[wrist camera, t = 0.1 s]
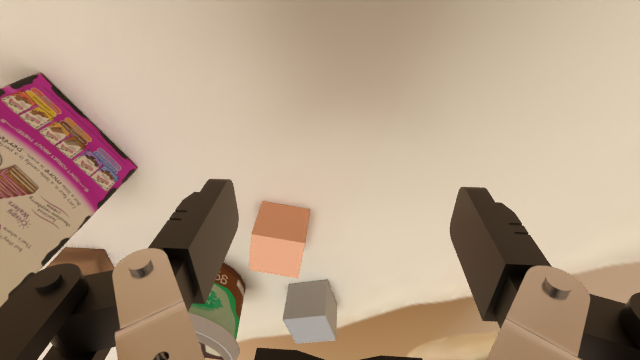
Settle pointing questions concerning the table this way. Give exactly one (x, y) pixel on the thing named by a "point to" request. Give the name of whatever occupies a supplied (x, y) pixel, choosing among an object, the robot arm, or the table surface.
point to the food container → (220, 316)
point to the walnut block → (85, 259)
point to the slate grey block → (311, 312)
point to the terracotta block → (278, 239)
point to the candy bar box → (48, 176)
